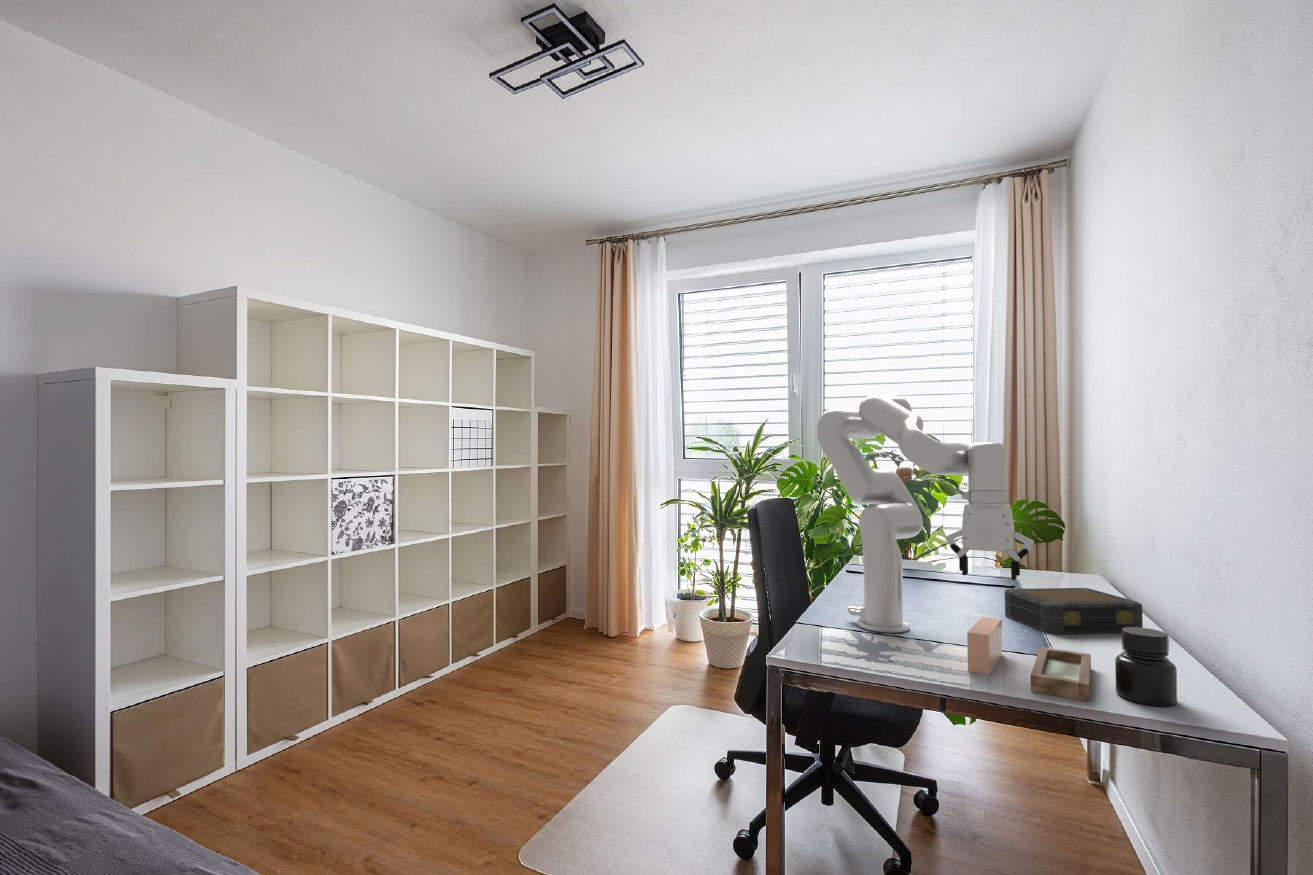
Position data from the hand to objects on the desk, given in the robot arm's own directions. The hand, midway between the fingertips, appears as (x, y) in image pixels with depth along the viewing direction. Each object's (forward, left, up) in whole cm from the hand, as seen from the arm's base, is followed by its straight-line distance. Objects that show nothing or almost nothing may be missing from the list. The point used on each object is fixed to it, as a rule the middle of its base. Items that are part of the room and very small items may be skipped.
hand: (989, 576), depth 142 cm
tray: (+14, -8, -17) cm, 24 cm away
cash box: (+13, +44, -18) cm, 49 cm away
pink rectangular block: (0, -5, -18) cm, 18 cm away
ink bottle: (+27, -11, -18) cm, 34 cm away
